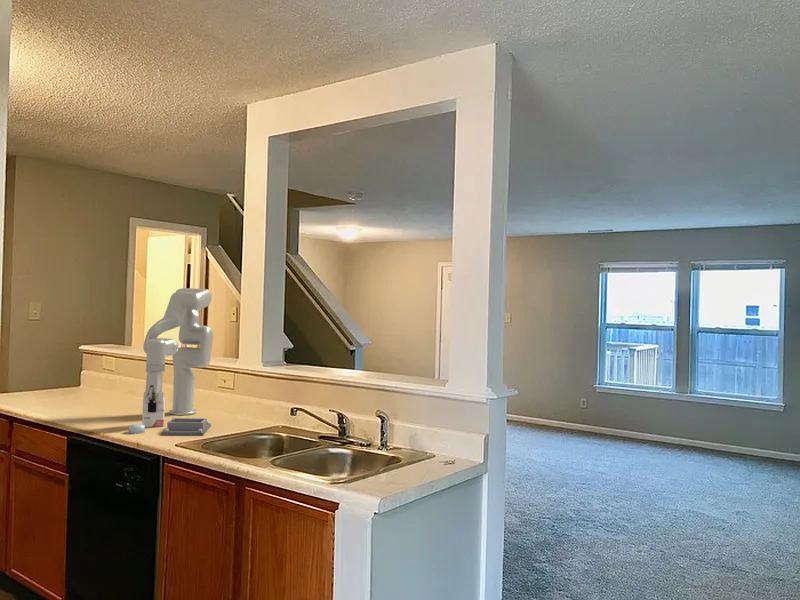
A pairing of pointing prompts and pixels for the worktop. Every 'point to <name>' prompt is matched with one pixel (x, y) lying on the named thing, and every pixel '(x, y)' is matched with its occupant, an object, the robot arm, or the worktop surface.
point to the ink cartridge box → (153, 417)
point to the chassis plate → (187, 426)
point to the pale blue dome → (137, 428)
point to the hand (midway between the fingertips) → (153, 410)
